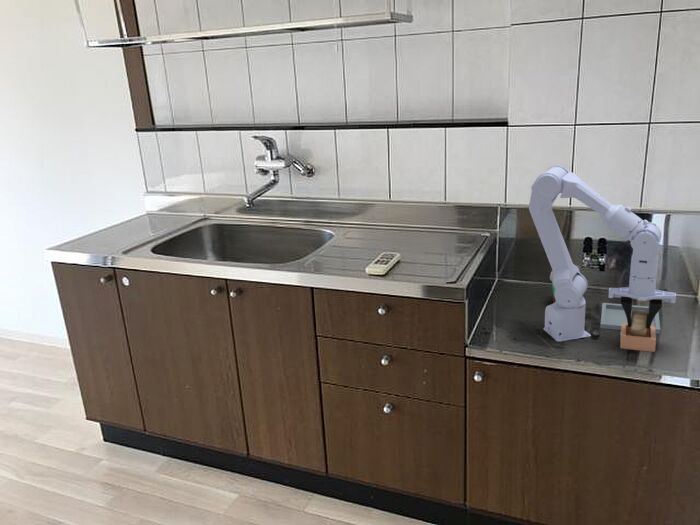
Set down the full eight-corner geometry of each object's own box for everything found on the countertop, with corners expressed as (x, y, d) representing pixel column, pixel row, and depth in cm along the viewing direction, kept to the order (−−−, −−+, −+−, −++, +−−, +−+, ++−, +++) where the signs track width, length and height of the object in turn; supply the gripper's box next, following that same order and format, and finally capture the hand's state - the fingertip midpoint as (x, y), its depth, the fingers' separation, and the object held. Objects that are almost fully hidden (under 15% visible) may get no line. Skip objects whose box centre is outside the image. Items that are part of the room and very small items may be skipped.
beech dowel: (635, 346, 145) (637, 316, 142) (626, 340, 148) (628, 310, 146) (648, 344, 146) (651, 314, 143) (639, 337, 149) (641, 308, 146)
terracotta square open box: (620, 350, 146) (621, 336, 144) (620, 336, 152) (621, 323, 151) (654, 354, 142) (656, 340, 141) (653, 339, 149) (654, 326, 148)
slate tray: (600, 330, 156) (600, 323, 156) (602, 308, 168) (602, 302, 167) (659, 336, 150) (660, 329, 150) (657, 313, 162) (657, 307, 162)
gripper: (609, 278, 140) (606, 329, 145) (679, 283, 135) (673, 336, 139) (610, 268, 146) (606, 317, 151) (676, 272, 141) (671, 323, 145)
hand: (638, 326), depth 146 cm, fingers closed on beech dowel, 4 cm apart
